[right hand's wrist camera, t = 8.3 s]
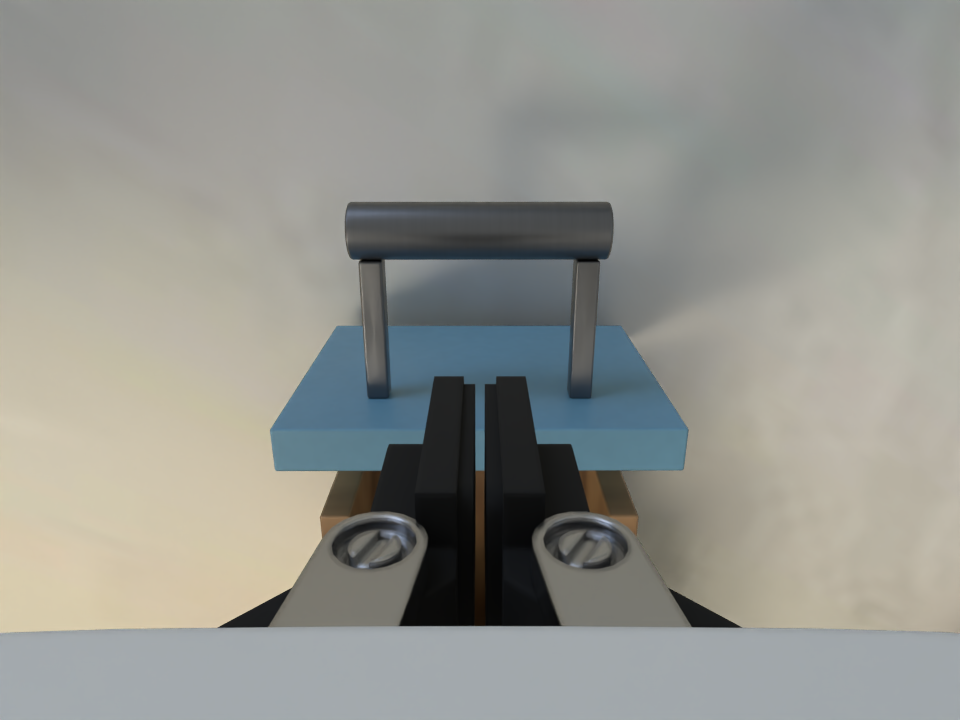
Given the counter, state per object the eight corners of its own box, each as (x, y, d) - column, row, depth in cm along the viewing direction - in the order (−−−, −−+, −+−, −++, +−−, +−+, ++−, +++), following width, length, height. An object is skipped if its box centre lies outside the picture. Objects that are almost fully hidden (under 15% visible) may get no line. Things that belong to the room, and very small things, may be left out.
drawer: (324, 177, 22) (242, 215, 14) (633, 177, 22) (716, 214, 15) (369, 730, 31) (333, 937, 23) (589, 730, 31) (626, 936, 24)
